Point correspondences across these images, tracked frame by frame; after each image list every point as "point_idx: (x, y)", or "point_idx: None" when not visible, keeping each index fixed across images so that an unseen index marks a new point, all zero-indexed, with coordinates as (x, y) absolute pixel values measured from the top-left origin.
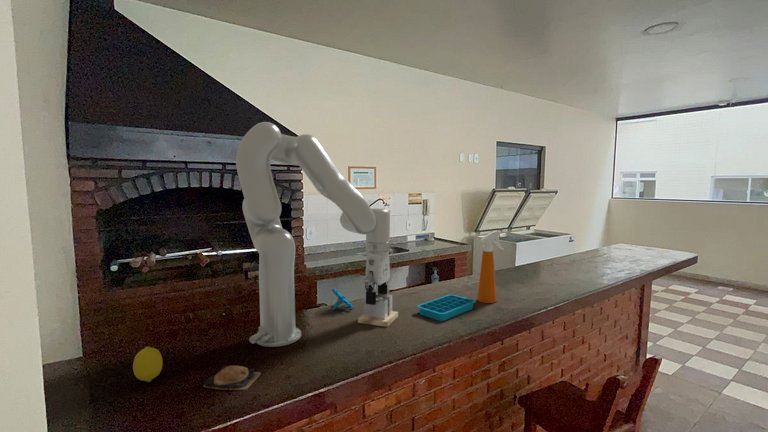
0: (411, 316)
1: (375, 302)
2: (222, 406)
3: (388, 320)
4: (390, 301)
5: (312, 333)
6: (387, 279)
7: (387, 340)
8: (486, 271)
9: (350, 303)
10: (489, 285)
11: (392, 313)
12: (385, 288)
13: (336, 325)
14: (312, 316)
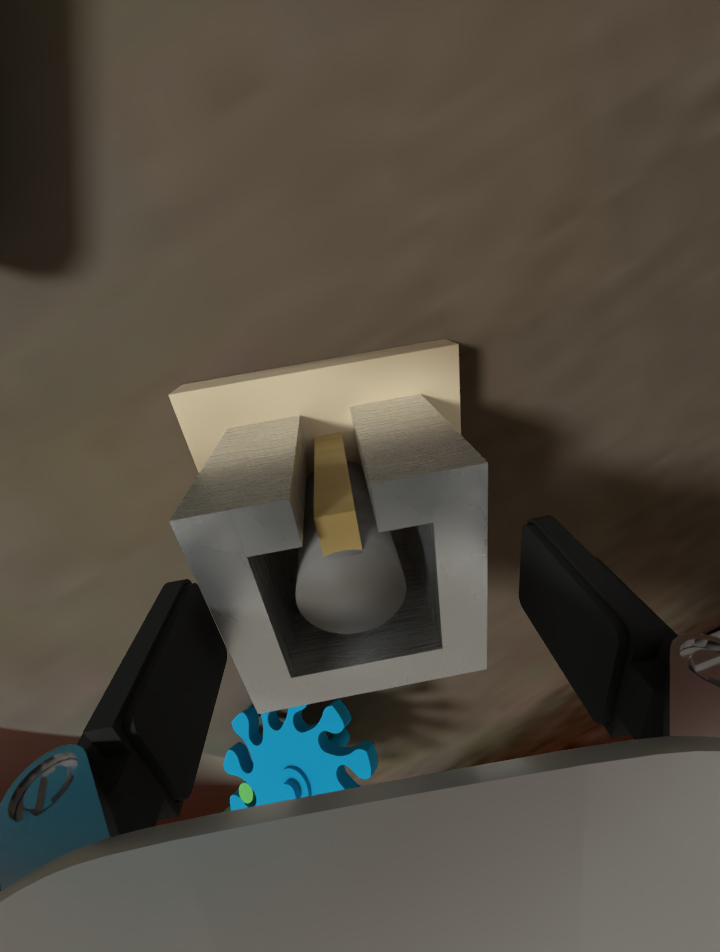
0: (91, 265)
1: (560, 527)
2: None
3: (419, 356)
4: (259, 472)
5: None
6: (197, 879)
7: (708, 183)
8: None
9: (241, 730)
10: None
11: (242, 418)
12: (157, 679)
13: None
14: (463, 734)
